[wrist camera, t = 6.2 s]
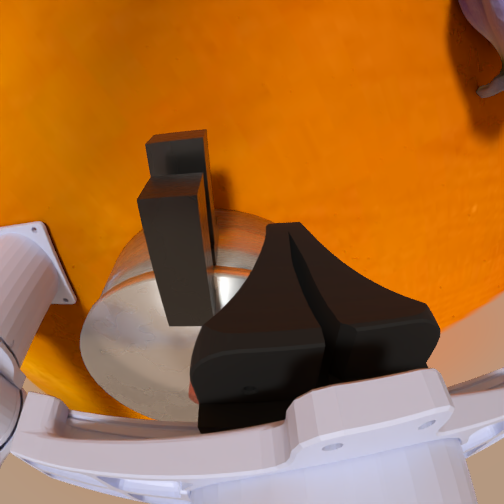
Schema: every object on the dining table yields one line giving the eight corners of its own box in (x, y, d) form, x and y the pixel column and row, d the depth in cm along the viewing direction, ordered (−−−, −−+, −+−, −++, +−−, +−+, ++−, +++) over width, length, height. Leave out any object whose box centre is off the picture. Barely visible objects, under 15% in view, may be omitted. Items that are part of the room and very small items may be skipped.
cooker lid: (324, 415, 25) (329, 440, 23) (131, 418, 24) (127, 442, 22) (393, 165, 12) (423, 192, 10) (10, 193, 12) (-19, 220, 9)
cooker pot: (312, 359, 30) (323, 411, 25) (144, 365, 29) (135, 416, 24) (340, 111, 16) (384, 138, 11) (62, 138, 16) (9, 175, 11)
